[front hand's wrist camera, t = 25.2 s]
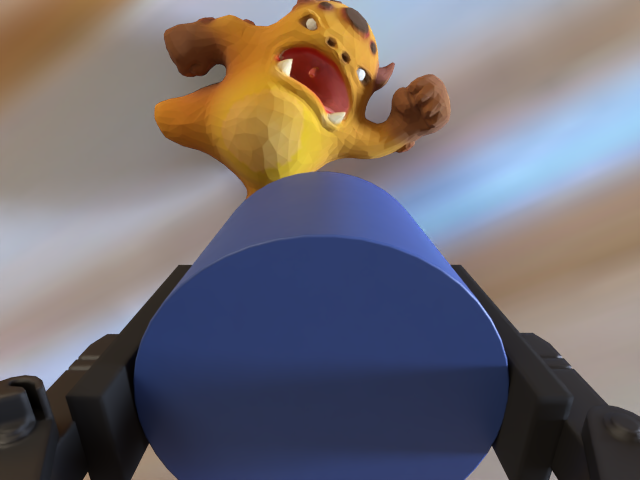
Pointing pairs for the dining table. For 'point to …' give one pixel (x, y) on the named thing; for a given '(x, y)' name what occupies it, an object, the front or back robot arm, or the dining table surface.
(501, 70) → the dining table surface
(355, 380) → the blue cylinder
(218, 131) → the toy
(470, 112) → the dining table surface
